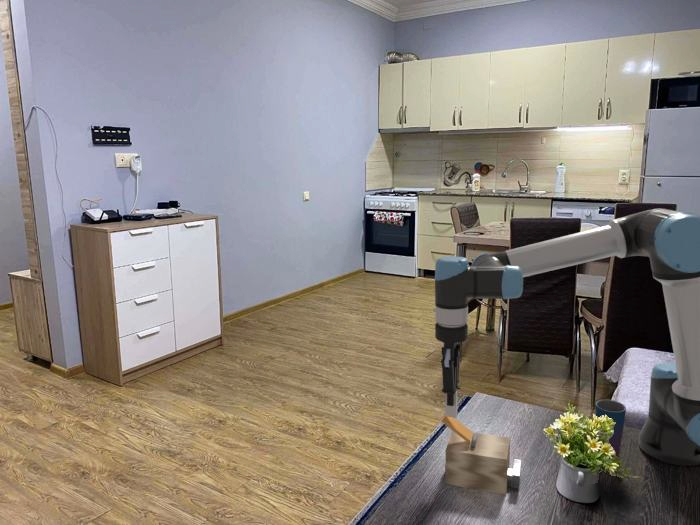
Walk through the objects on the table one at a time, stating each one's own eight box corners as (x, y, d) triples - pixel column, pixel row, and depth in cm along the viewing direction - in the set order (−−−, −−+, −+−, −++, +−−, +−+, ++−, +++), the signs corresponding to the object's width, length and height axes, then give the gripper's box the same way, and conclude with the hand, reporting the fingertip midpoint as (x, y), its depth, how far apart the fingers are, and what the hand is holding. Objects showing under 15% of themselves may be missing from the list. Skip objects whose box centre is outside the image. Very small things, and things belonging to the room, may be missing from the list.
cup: (598, 450, 139) (601, 397, 136) (626, 459, 134) (630, 405, 131) (588, 460, 134) (591, 406, 131) (616, 471, 129) (620, 414, 126)
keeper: (475, 438, 130) (478, 435, 129) (473, 448, 125) (476, 445, 125) (444, 413, 131) (446, 410, 131) (440, 422, 127) (443, 419, 127)
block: (509, 470, 131) (510, 437, 129) (506, 495, 122) (506, 459, 120) (452, 461, 136) (452, 429, 134) (445, 484, 127) (445, 449, 125)
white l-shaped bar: (520, 476, 129) (521, 459, 128) (519, 493, 123) (519, 476, 122) (448, 464, 135) (448, 448, 134) (443, 480, 129) (443, 463, 128)
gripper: (440, 313, 131) (441, 402, 135) (429, 330, 119) (430, 426, 124) (471, 315, 128) (470, 405, 133) (463, 332, 116) (462, 431, 121)
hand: (451, 415), depth 128 cm, fingers closed
